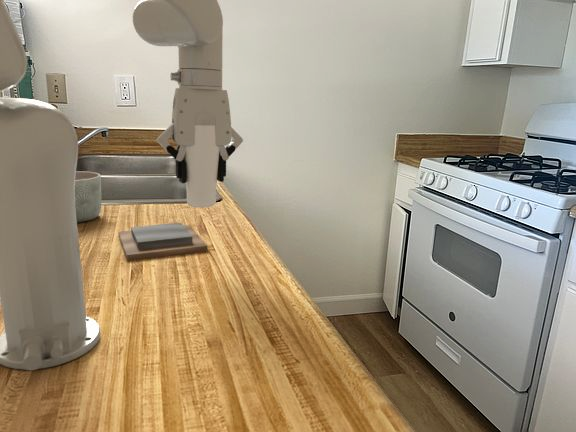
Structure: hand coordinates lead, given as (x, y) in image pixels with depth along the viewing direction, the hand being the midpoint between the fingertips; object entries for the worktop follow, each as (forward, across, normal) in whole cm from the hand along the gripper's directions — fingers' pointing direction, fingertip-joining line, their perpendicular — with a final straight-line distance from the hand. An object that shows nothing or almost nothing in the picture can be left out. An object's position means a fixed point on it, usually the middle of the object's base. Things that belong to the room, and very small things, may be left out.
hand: (201, 180), depth 89 cm
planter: (+16, -21, +42) cm, 50 cm away
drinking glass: (+5, 0, 0) cm, 5 cm away
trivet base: (+16, -5, +15) cm, 23 cm away
